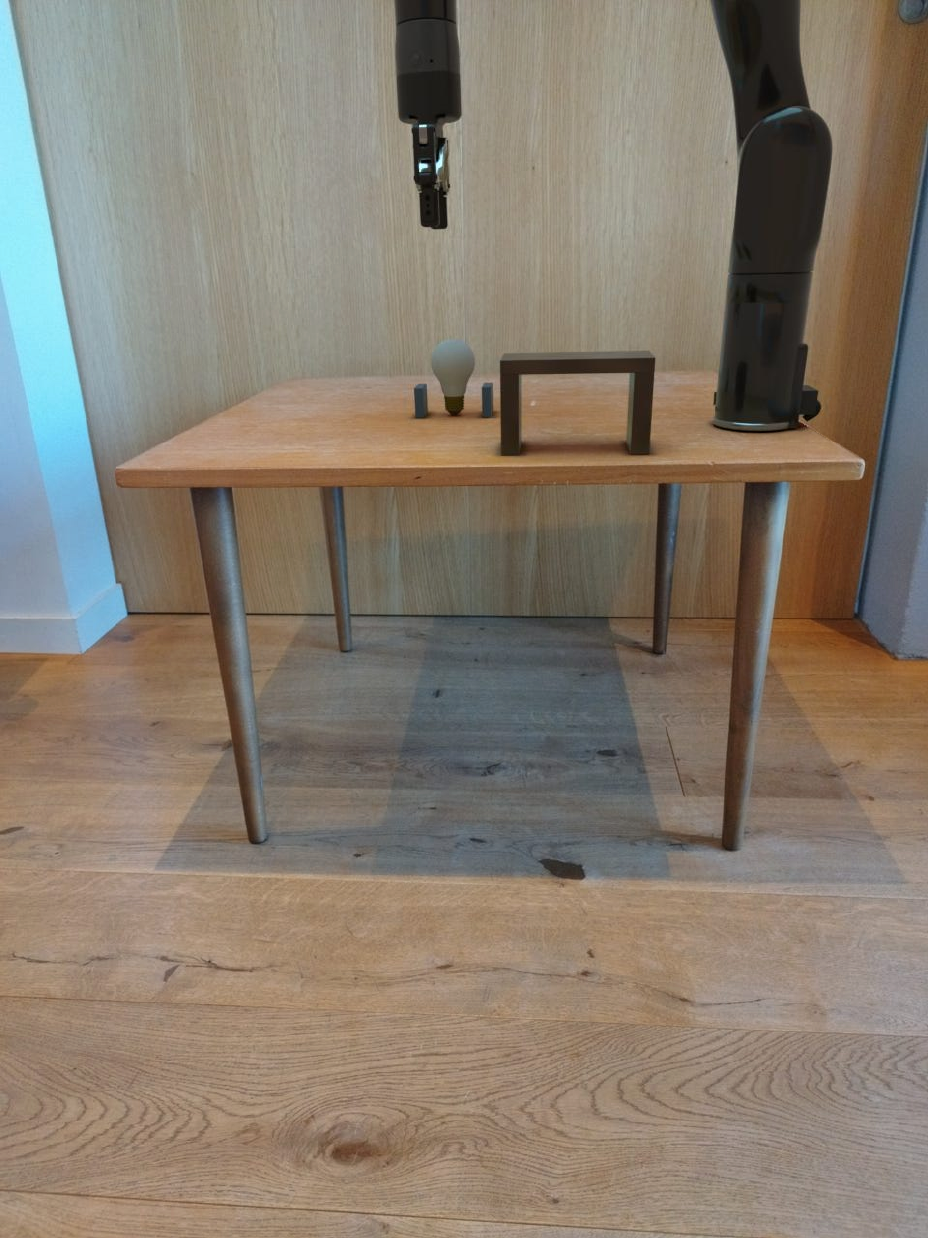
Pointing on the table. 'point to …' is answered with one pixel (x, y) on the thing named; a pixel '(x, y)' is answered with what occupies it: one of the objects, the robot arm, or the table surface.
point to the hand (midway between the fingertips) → (434, 228)
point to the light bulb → (453, 371)
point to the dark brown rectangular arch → (578, 363)
